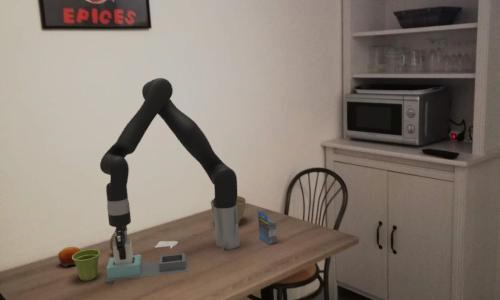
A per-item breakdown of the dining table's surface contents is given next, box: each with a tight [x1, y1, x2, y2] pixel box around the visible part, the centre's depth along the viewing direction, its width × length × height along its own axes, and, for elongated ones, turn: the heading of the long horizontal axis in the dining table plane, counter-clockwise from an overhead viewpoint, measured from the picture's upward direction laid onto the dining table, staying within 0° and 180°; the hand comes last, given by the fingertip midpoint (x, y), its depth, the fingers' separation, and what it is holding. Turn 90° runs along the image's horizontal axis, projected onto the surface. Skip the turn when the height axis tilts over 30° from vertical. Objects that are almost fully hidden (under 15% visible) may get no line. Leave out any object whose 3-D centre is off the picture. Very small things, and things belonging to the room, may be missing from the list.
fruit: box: [57, 246, 81, 268], centre depth 177 cm, size 8×8×8 cm
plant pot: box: [72, 248, 101, 282], centre depth 164 cm, size 9×9×9 cm
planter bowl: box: [210, 195, 246, 224], centre depth 213 cm, size 16×16×11 cm
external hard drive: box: [154, 240, 179, 249], centre depth 187 cm, size 2×8×12 cm
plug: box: [112, 236, 134, 265], centre depth 165 cm, size 6×4×10 cm, turn 99°
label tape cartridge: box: [257, 210, 277, 245], centre depth 190 cm, size 9×4×12 cm, turn 26°
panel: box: [105, 252, 188, 285], centre depth 167 cm, size 28×12×5 cm, turn 99°
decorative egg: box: [109, 231, 115, 252], centre depth 184 cm, size 7×7×10 cm
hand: (123, 256), depth 165 cm, fingers closed on plug, 4 cm apart
